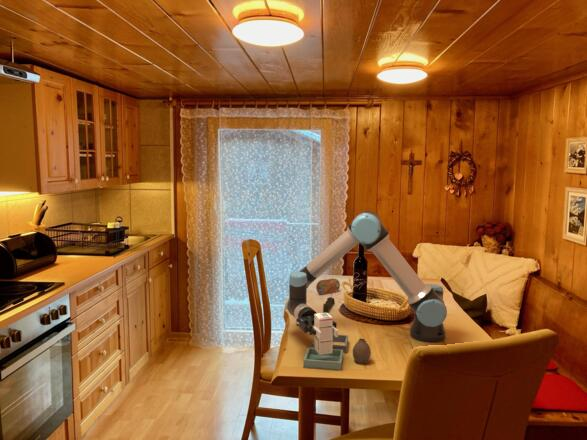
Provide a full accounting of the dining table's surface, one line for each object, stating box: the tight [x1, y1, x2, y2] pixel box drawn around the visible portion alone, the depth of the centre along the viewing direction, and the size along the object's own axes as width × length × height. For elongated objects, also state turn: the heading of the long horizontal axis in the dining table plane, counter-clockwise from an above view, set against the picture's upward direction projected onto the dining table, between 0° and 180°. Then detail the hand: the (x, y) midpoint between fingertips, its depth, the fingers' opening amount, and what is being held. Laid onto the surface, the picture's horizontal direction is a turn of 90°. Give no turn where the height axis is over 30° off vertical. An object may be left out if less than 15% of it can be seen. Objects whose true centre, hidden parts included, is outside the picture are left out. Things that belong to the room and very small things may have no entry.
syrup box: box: [313, 312, 334, 355], centre depth 183 cm, size 6×6×14 cm
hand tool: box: [322, 297, 335, 314], centre depth 249 cm, size 19×4×5 cm, turn 163°
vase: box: [352, 338, 372, 364], centre depth 185 cm, size 7×7×9 cm
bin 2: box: [302, 347, 344, 371], centre depth 184 cm, size 14×12×3 cm
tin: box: [315, 277, 341, 296], centre depth 277 cm, size 15×3×8 cm, turn 119°
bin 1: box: [311, 334, 349, 354], centre depth 200 cm, size 14×12×3 cm
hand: (328, 334), depth 178 cm, fingers closed on syrup box, 6 cm apart
